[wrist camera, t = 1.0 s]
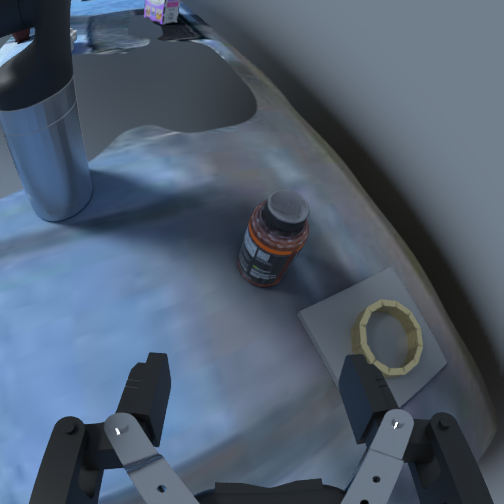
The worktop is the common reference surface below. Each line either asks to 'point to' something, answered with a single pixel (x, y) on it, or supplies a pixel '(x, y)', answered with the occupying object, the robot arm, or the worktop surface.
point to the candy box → (162, 11)
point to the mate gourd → (21, 35)
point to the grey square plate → (372, 332)
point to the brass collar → (408, 325)
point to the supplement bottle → (273, 238)
